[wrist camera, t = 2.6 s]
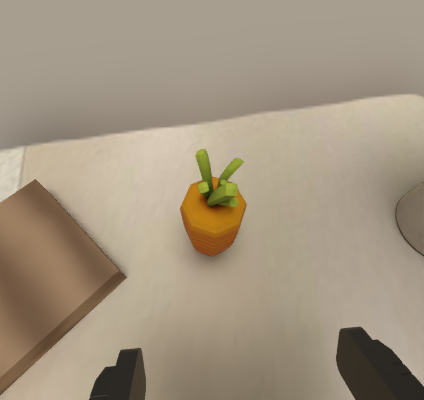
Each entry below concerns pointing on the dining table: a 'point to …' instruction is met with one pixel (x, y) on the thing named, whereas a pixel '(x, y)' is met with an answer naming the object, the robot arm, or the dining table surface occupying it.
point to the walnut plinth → (44, 278)
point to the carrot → (213, 208)
